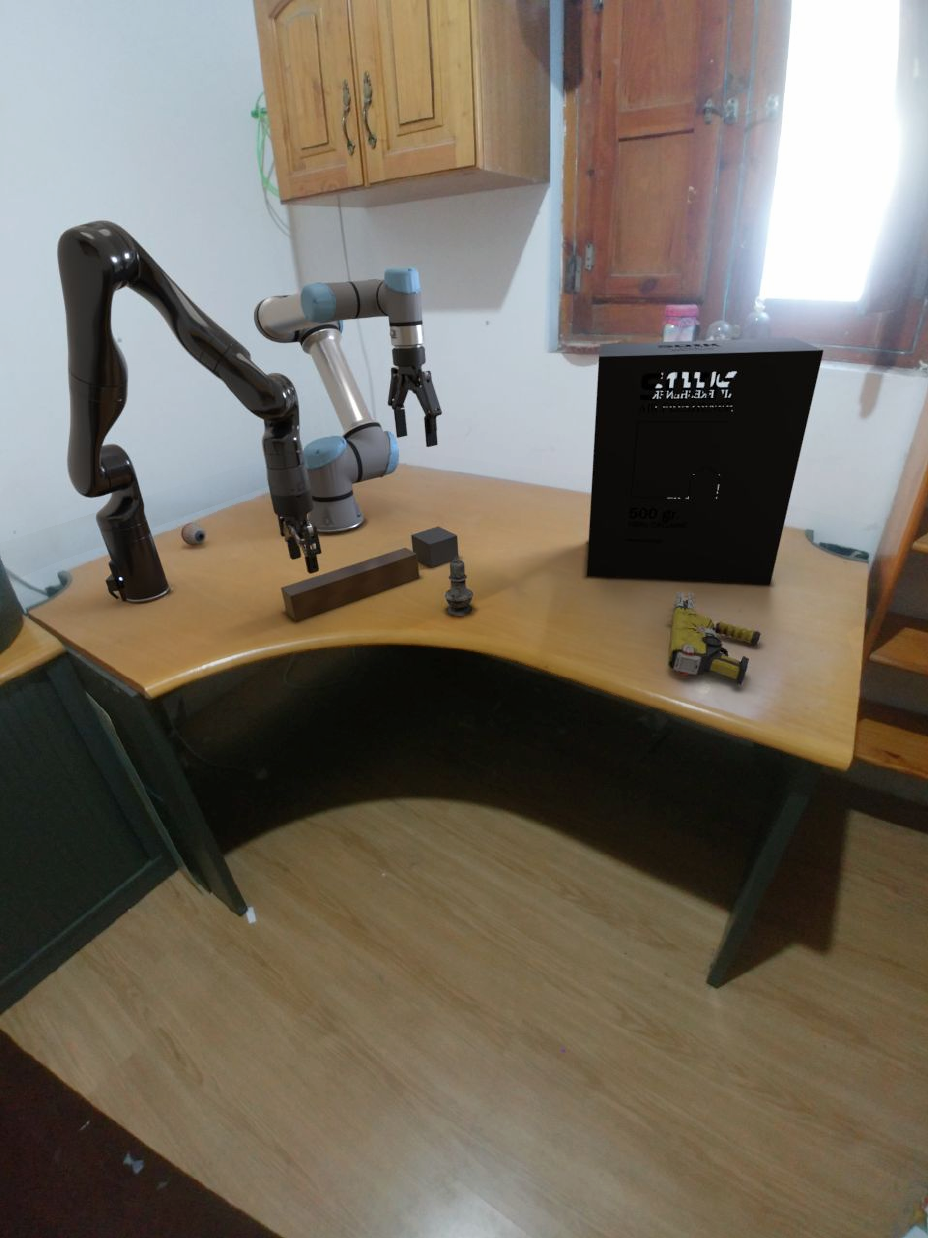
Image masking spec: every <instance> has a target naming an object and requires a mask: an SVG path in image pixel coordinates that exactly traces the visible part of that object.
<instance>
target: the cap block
mask: <svg viewBox="0 0 928 1238" xmlns="http://www.w3.org/2000/svg"><path fill="white" fill-rule="evenodd" d="M410 537H411V539H410V540H411V548H412V551H413V552H414V553H416V554H417V558H418V562H421V563H422V564H424V565H426V566H427V567H429V568H430V569H432V568H435V567H438V566H441V565H444V564H446V563H450V562H451V561H453V560H455V557H456V556H457V557H458V559H459V558H460V557H459V541H458V540H459V539H458V534H456V533H453V532H452V531H449V530H447V529H445V528H443V527H440V525H439V526H435V527H432V528H429V529H426V530H422V531H419V532H416V533H412V534H411V536H410Z"/></svg>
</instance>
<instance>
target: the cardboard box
mask: <svg viewBox="0 0 928 1238" xmlns="http://www.w3.org/2000/svg"><path fill="white" fill-rule="evenodd" d="M598 353H599V354H598V363H597V364H598V367H597V383H596V385H597V386H596V387H597V388H596V403H595V417H594V418H595V419H594V438H593V456H592V473H591V490H590V491H591V492H590V508H589V527H588V543H587V545H588V546H587V561H586V577H587V578H608V579H609V578H610V579H628V580H629V579H630V580H631V579H632V580H633V579H634V580H653V581H654V580H655V581H676V582H677V581H678V582H697V583H698V582H700V583H723V584H744V585H745V584H746V585H765V586H767V585H768V586H771V584H772V579H773V575H774V571H775V566H776V560H777V557H778V553H779V549H780V543H781V539H782V535H783V530H784V526H785V522H786V518H787V513H788V509H789V506H790V505H789V504H790V500H791V495H792V492H793V486H794V482H795V478H796V475H797V474H796V473H797V469H798V466H799V460H800V456H801V451H802V446H803V442H804V438H805V434H806V431H807V427H808V426H807V425H808V421H809V416H810V412H811V407H812V403H813V398H814V394H815V390H816V386H817V381H818V377H819V372H820V369H821V363H822V359H823V355H824V349H822V348H819V347H817V346H815V345H812V344H811V343H808V342H805V341H802V340H800V339H798V338H795V337H777V338H776V337H775V338H772V337H771V338H746V339H745V338H743V339H739V338H738V339H713V340H709V339H708V340H683V341H682V340H681V341H679V340H678V341H651V342H649V341H648V342H647V341H646V342H621V343H619V342H618V343H600V344H599V352H598ZM732 372H733V373H734V372H735V373H734V375H733V376H732V377H727V376H728V375H729V373H732ZM674 373H676V377H675V378H673V384H672V387H670V384H671V378H670V377H669V376H670V374H674ZM683 373H688V376H687V383H690V384H689V387H685V382H686V381H685V378H684V377H683ZM696 373H699V378H698V377H696ZM713 373H715V376H714V382H713V383H712V379H713ZM668 377H669V378H668ZM717 381H718V383H719V384H721V383H728V384H727V386H719V385H718V383H717ZM698 382H699V383H700V384H701V383H702V384H703V387H701V386H700V387H699V386H698ZM657 385H660V386H661V387H657ZM697 386H698V387H697Z"/></svg>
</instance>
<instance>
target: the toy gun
mask: <svg viewBox="0 0 928 1238" xmlns="http://www.w3.org/2000/svg"><path fill="white" fill-rule="evenodd" d="M684 598H687V599H684ZM674 600H675V601H674V603H673V613H672V617H671V621H670V623H671V624H670V633H669V644H668V655H667V667H668V669H670V670H673V671H675V672H676V674H677V675H683V676H685V677H688V676H689V675H694V676H699V675H704V674H705V673H707V672H708V671H712V672H714V673H717V674H721V675H724V676H726V677H729V678H732V679H734V680H736V684H737V686H742V685H743V682H744V679H745V676H746V673H747V671H748V670H747V669H748V668H749V667H748V666H749V662H750V658H749V657H746V656H745V655H743V656H742V657H741V659H740V660H738V659H736V658H732V657H730V656H729V651H728V650H727V648H724V647H723V641H722V640H721V638H719V637H718V635H720V636H721V635H723V636H724V637H727V638H728V637H729V638H730V637H731V638H732V639H733V640H737V639H738V640H739V641H740V642H746V643H747V644H751V645H752V646H758V644H759V641H760V638H761V632H760V631H758V630H753V629H750V630H748V628H746V627H742V628H741V626H739V625H732V624H731V623H726V622H724V621H722V620H721V621H718V622H716V624H715V623H714V621H713V619H712V618H711V617H709V616H705V615H702V614H699V613H696V611H695V610H694V609H695V595H694V594H693V593H690V592H688V593H687V595H685V592H683V591H679V592H677V593H676V595H675V599H674Z"/></svg>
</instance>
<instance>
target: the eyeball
mask: <svg viewBox="0 0 928 1238" xmlns="http://www.w3.org/2000/svg"><path fill="white" fill-rule="evenodd" d="M180 536H181V539H182V540H183V542H184V543H185V544H187V545H188V546H191V547H195V546H200V545H201V544H203V543H204V541H206V537H207V533H206V530H205V528H204V527H203V526H202V525H201V524H198V523H197V522H189V523H187V524H185V525H184V526H183V527H182V528H181V532H180Z"/></svg>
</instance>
